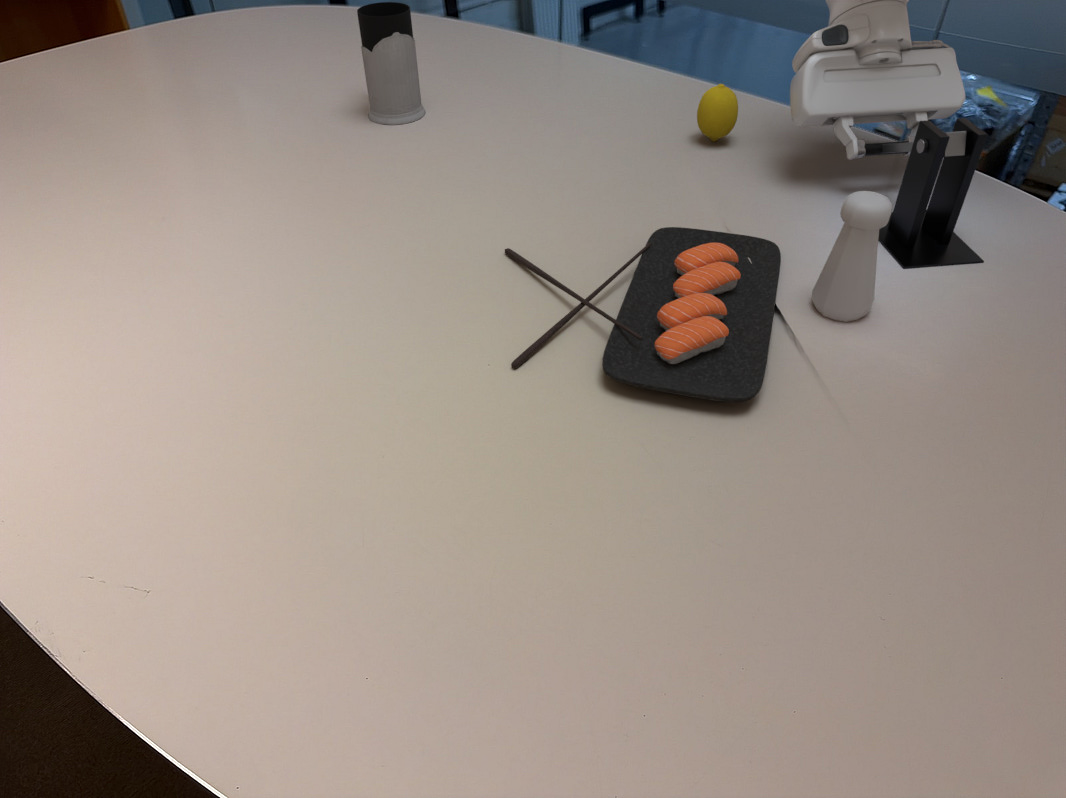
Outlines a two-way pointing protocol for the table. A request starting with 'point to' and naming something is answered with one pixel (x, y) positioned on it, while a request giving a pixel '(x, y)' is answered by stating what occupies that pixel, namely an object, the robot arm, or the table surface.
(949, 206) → the bracket
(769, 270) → the sushi plate
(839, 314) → the salt shaker
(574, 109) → the table surface
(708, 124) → the lemon
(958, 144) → the lever
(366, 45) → the glass holder
